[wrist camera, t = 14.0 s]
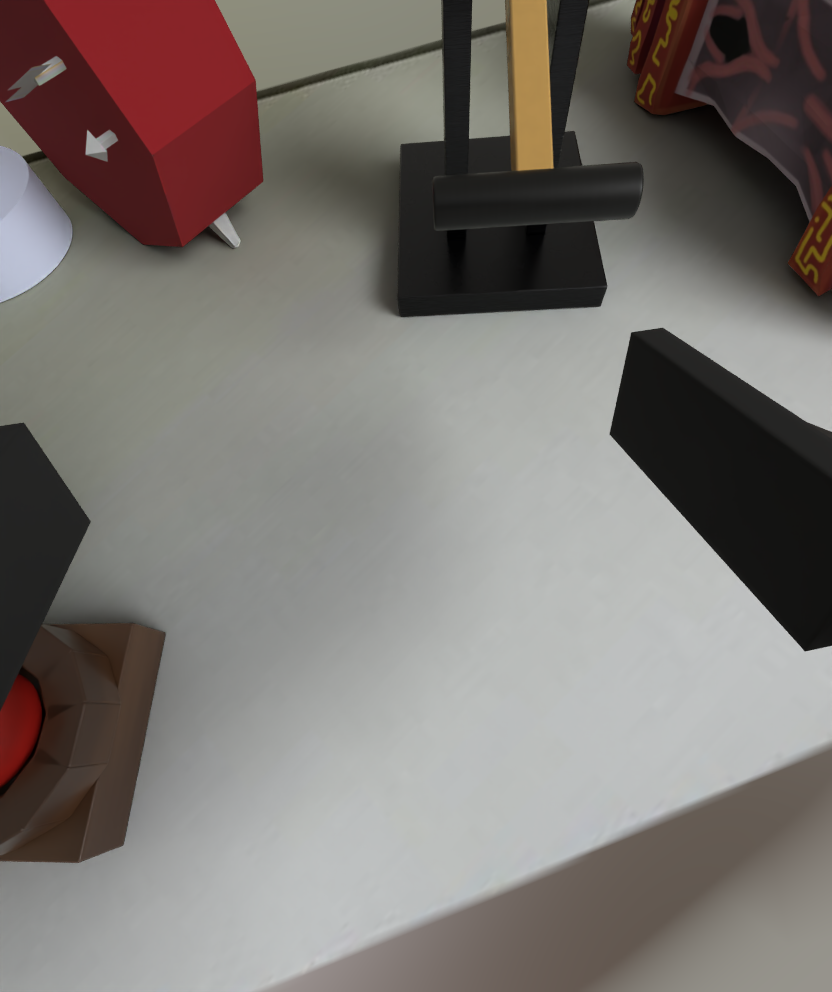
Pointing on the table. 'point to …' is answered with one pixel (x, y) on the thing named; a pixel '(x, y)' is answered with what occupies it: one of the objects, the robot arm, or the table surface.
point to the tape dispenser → (28, 227)
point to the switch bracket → (498, 250)
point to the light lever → (534, 154)
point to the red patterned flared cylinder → (752, 91)
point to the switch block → (81, 741)
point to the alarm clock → (137, 108)
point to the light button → (18, 727)
